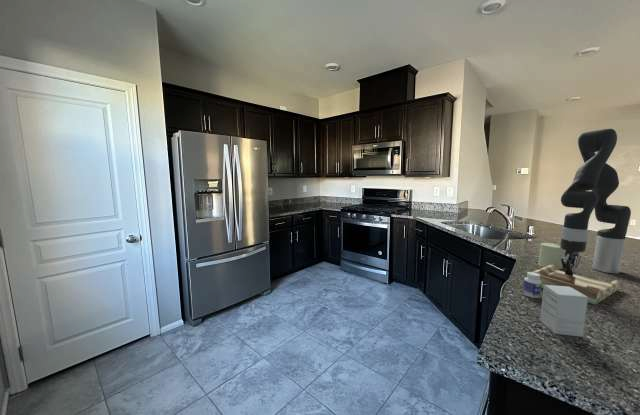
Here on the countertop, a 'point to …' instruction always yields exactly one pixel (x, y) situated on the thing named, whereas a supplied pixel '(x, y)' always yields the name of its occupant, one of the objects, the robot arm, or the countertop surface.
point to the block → (563, 277)
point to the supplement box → (563, 310)
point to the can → (550, 255)
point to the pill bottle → (532, 285)
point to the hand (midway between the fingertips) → (568, 278)
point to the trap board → (579, 284)
